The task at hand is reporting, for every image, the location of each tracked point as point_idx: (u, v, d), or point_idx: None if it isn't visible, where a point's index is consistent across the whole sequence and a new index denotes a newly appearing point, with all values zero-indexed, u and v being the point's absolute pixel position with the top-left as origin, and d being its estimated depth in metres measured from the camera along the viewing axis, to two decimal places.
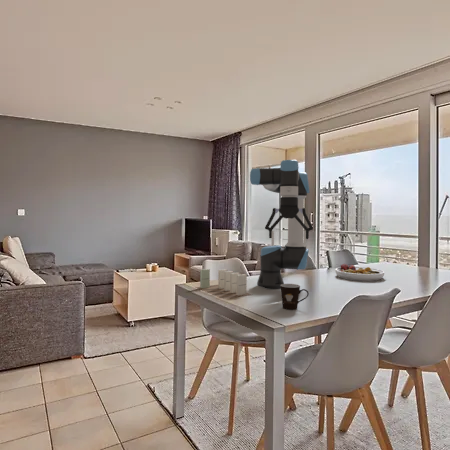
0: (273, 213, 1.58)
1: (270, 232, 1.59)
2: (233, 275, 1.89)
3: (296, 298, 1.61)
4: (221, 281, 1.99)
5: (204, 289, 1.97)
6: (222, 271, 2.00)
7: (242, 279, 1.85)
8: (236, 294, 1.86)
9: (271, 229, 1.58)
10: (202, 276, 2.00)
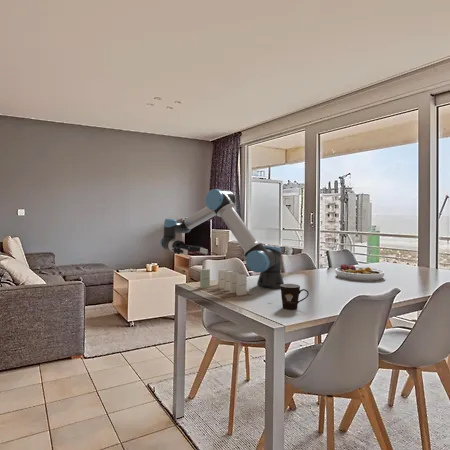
0: None
1: None
2: (233, 275, 1.89)
3: (296, 298, 1.61)
4: (221, 281, 1.99)
5: (204, 289, 1.97)
6: (222, 271, 2.00)
7: (242, 279, 1.85)
8: (236, 294, 1.86)
9: (200, 251, 2.15)
10: (202, 276, 2.00)
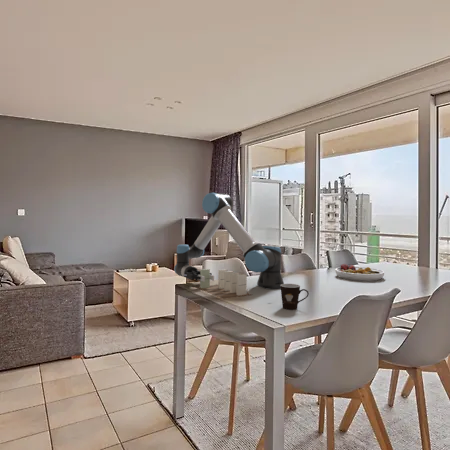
0: None
1: None
2: (233, 275, 1.89)
3: (296, 298, 1.61)
4: (221, 281, 1.99)
5: (204, 289, 1.97)
6: (222, 271, 2.00)
7: (242, 279, 1.85)
8: (236, 294, 1.86)
9: None
10: None
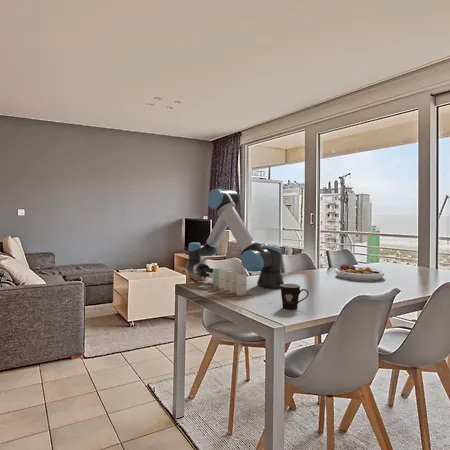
0: None
1: None
2: (233, 275, 1.89)
3: (296, 298, 1.61)
4: (221, 281, 1.99)
5: (204, 289, 1.97)
6: (222, 271, 2.00)
7: (242, 279, 1.85)
8: (236, 294, 1.86)
9: None
10: (215, 275, 2.04)
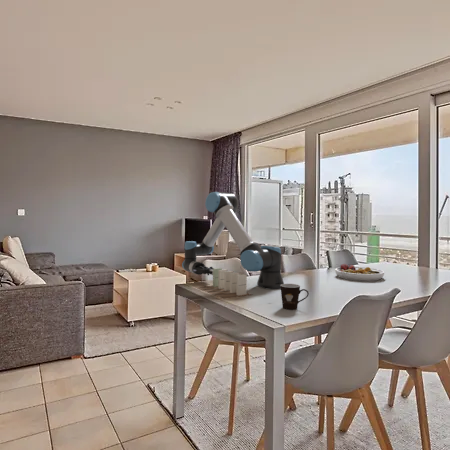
0: None
1: None
2: (233, 275, 1.89)
3: (296, 298, 1.61)
4: (221, 281, 1.99)
5: (204, 289, 1.97)
6: (222, 271, 2.00)
7: (242, 279, 1.85)
8: (236, 294, 1.86)
9: None
10: (215, 275, 2.04)
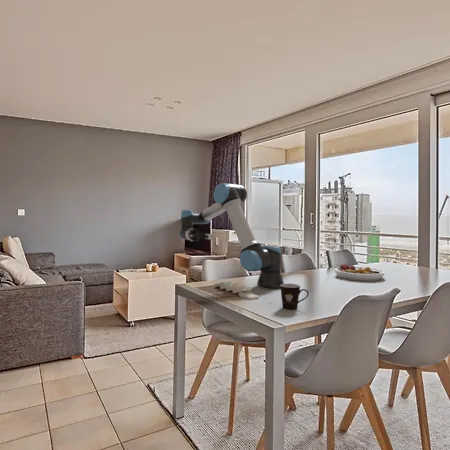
0: None
1: None
2: (244, 290, 1.81)
3: (296, 298, 1.61)
4: None
5: (204, 289, 1.97)
6: None
7: None
8: (236, 294, 1.86)
9: None
10: (221, 285, 1.99)
